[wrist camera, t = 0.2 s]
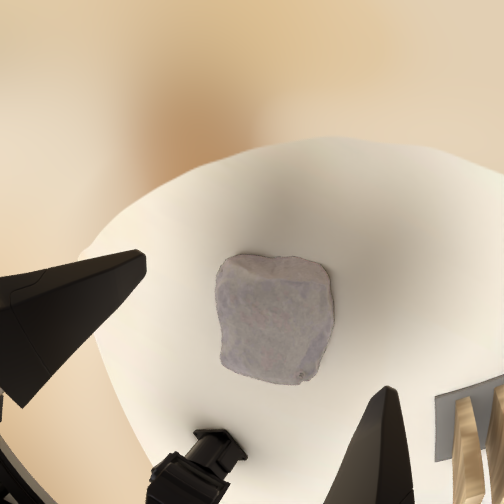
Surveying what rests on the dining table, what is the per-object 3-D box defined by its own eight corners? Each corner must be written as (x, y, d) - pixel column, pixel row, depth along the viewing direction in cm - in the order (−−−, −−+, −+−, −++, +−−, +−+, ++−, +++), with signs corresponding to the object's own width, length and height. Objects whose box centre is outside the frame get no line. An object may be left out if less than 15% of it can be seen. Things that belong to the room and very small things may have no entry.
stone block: (336, 252, 25) (224, 248, 27) (340, 272, 20) (206, 266, 22) (325, 362, 28) (231, 354, 30) (324, 393, 24) (218, 383, 26)
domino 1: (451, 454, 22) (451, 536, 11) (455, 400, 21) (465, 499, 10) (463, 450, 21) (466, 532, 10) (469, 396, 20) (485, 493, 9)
